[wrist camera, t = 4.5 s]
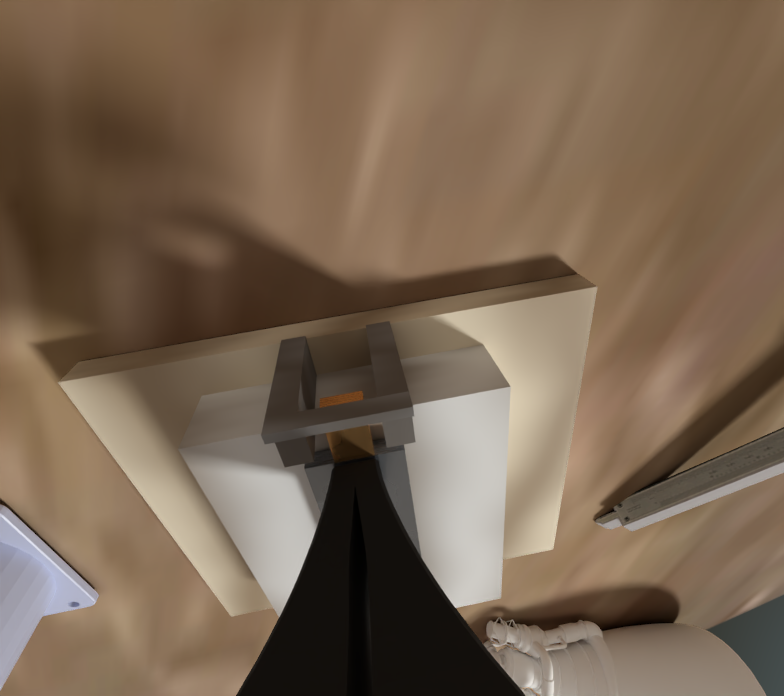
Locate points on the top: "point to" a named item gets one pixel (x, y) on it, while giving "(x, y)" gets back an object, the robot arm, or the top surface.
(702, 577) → the top surface
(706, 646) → the rocket engine
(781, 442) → the caliper
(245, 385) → the base board
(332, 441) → the grey flat bar
